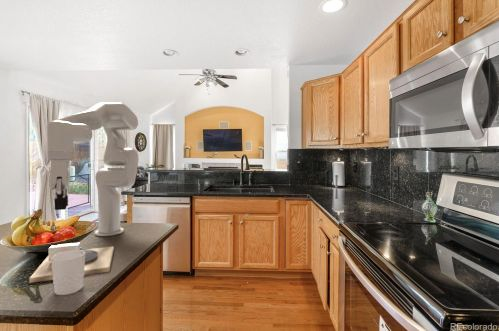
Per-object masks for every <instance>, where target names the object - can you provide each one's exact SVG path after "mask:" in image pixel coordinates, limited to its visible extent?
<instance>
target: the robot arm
mask: <svg viewBox="0 0 499 331" xmlns="http://www.w3.org/2000/svg"><path fill="white" fill-rule="evenodd" d="M138 125H139V118H138V116H137V115H136V114H135V112H133V110H131V108H130V107H129V106H127V105H126V104H124V103H123V102H107V101H106V102H104V101H103V102H99V103H97V104H95V105H93V106H92V107H90V108H89V109H86V110H85V111H82V112H78V113H75V114H74V113H73V114H70V115H67V116H64V117H61V118H58V119H57V120H50V121H48V122H47V124H46V142H47V144H46V145H47V146H46V147H47V149H46V150H47V162H50V167H49V168H50V169H49V170H50V171H49V190H50V191H53V190H55V191H54V210H55V211H61V210H66V209H67V207H68V206H69V195H68V188H69V187H70V184H71V183H70V182H71V162H74V161H75V154H74V149H75V148H74V147H75V146H74V144H87V143H89V142H91V140H92V139H93V131H97V130H99V129H101V128H102V127H103V130H104V132H105V134H106V139H107V140H106V143H105V144H106V145H105V150H104V155H103V163H104V165H105V166H106V167H104V168H100V169H98V170H97V171H96V173H95V175H94V176H95V183H96V187H97V215H98V216H97V218H98V219H97V221H98V222H97V225H98V227H97V229H96V230H95V231H94V236H97V237H109V236H110V237H111V236H115V235H116V236H117V235H120V234H122V233H124V231H125V229H124V227H121V195H120V193H119V191H118V190H117V188H118V189H121V188H122V189H128V188H132V187H133V186H134V184H135V182H136V178H137V171H138V166H139V154H138V151H137V150H136V149H134V148H131V147H126V138H125V136H124V135H123V134H122V133H121V132H120V131H134V130H136V129H137V127H138Z"/></svg>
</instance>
